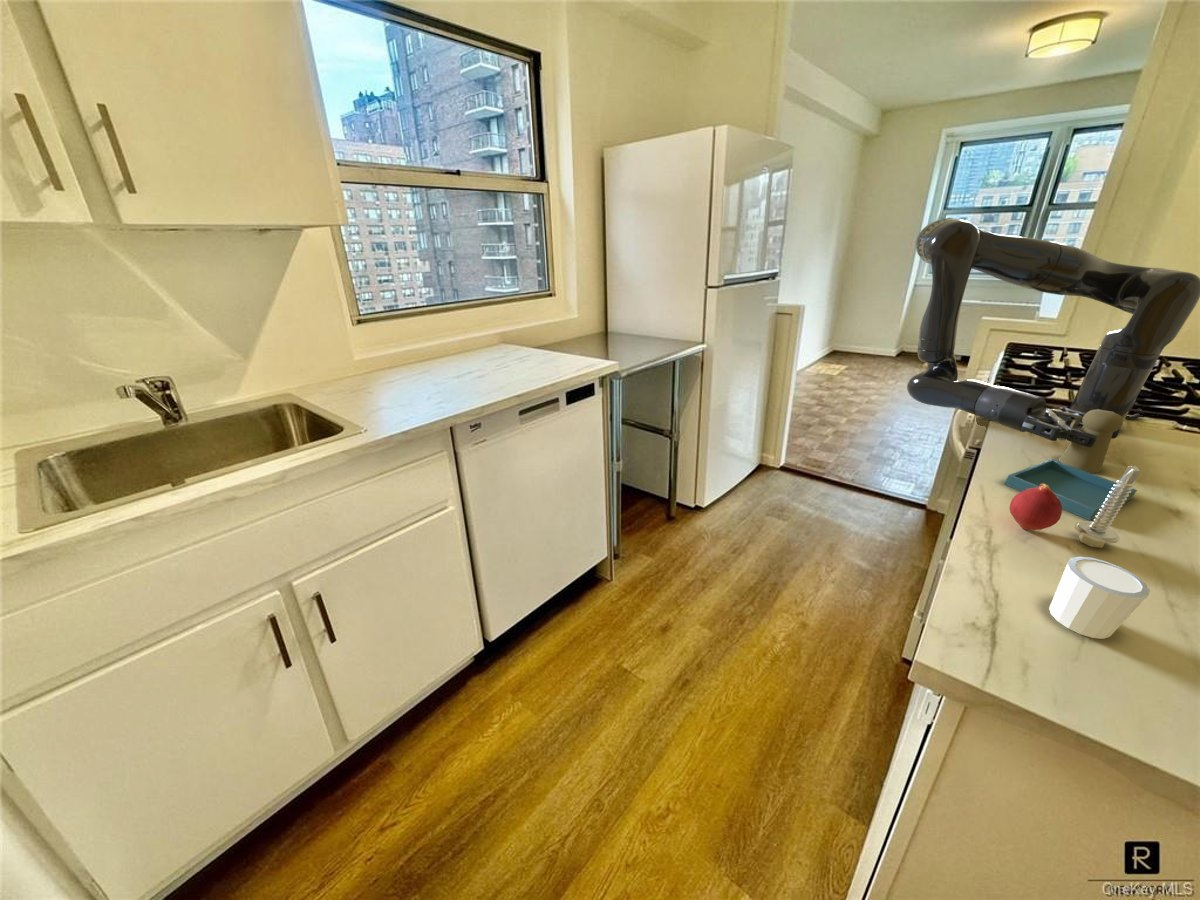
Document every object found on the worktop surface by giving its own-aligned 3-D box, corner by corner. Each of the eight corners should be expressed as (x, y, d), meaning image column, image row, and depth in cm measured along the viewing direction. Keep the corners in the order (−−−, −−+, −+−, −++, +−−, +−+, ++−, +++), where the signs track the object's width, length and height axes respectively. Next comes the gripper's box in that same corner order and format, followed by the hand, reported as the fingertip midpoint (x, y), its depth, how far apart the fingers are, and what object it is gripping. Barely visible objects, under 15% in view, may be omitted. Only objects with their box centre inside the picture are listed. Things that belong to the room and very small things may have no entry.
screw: (1102, 556, 68) (1061, 537, 72) (1119, 547, 70) (1079, 529, 74) (1150, 477, 62) (1103, 461, 66) (1168, 470, 64) (1121, 454, 68)
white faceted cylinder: (1028, 600, 61) (1052, 557, 57) (1078, 597, 61) (1104, 554, 58) (1080, 645, 55) (1111, 599, 51) (1135, 641, 55) (1169, 595, 52)
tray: (1046, 467, 92) (1051, 458, 91) (1131, 499, 82) (1137, 489, 81) (1004, 484, 86) (1008, 475, 85) (1089, 520, 76) (1095, 510, 75)
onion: (1039, 522, 76) (1062, 478, 72) (1057, 544, 71) (1082, 498, 67) (996, 515, 77) (1016, 472, 74) (1010, 536, 73) (1032, 490, 69)
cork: (1108, 474, 89) (1139, 420, 84) (1071, 470, 90) (1099, 417, 85) (1086, 459, 95) (1114, 407, 90) (1051, 456, 96) (1076, 404, 91)
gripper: (995, 395, 97) (1097, 426, 84) (1034, 386, 102) (1135, 412, 89) (981, 429, 100) (1077, 463, 87) (1020, 418, 106) (1115, 448, 93)
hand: (1106, 438), depth 88 cm, fingers open, 8 cm apart
